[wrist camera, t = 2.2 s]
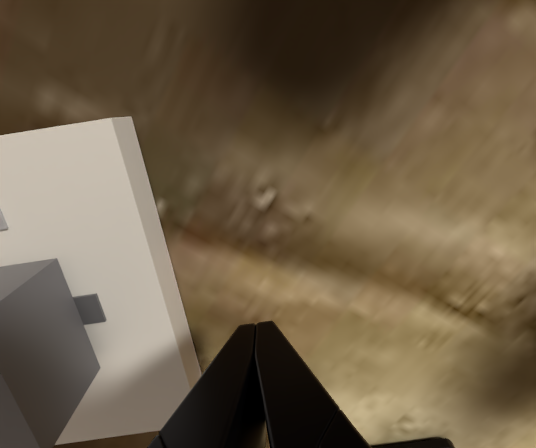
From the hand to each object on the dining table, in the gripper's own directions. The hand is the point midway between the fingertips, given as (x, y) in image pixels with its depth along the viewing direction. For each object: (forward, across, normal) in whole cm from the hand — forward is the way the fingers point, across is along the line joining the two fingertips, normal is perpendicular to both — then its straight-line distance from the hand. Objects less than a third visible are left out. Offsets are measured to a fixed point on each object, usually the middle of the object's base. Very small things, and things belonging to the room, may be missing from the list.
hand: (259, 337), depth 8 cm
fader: (+2, +7, 0) cm, 7 cm away
